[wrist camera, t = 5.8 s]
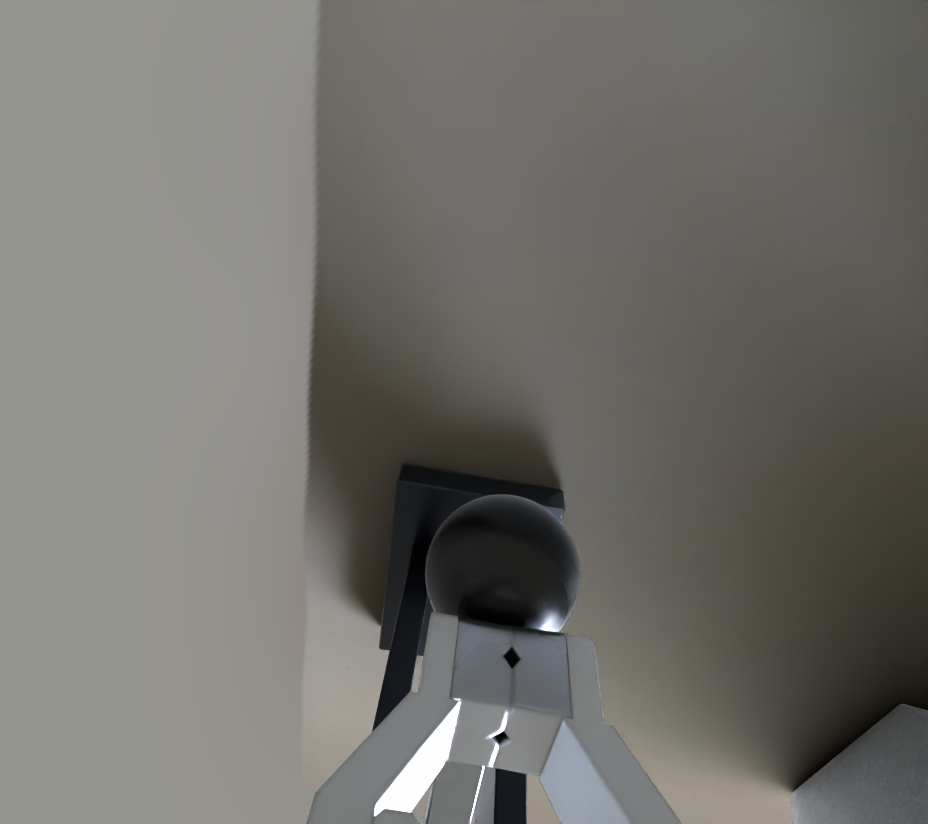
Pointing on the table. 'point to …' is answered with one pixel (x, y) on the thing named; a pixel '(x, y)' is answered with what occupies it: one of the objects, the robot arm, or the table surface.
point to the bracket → (409, 609)
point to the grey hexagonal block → (872, 777)
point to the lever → (496, 597)
